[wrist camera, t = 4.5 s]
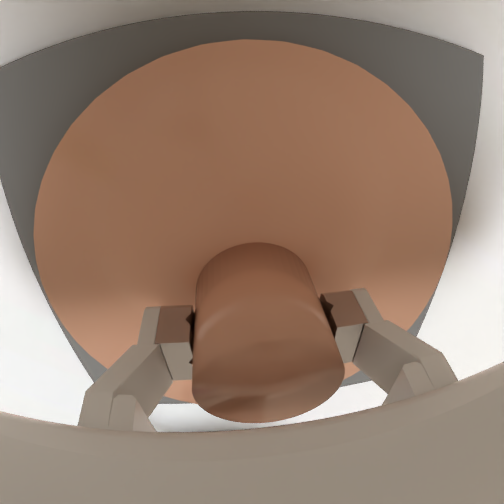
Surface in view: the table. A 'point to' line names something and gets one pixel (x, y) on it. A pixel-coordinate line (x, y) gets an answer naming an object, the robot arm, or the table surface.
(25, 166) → the mat
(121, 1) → the table surface
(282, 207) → the lid
